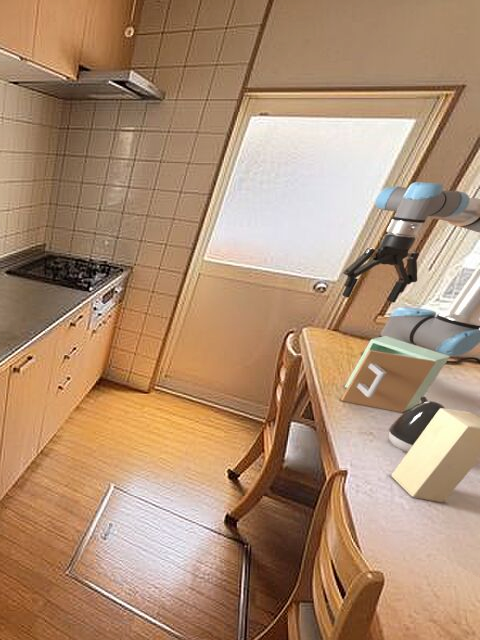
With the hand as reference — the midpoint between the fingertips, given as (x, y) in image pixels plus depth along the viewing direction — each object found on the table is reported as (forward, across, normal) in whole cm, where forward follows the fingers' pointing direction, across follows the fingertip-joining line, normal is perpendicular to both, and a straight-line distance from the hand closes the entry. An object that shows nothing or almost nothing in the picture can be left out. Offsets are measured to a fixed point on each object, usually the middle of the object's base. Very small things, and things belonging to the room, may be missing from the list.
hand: (367, 299), depth 143 cm
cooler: (+31, +12, -10) cm, 35 cm away
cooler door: (+31, +4, -23) cm, 39 cm away
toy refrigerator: (+31, -10, -64) cm, 72 cm away
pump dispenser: (+31, -1, -44) cm, 54 cm away
